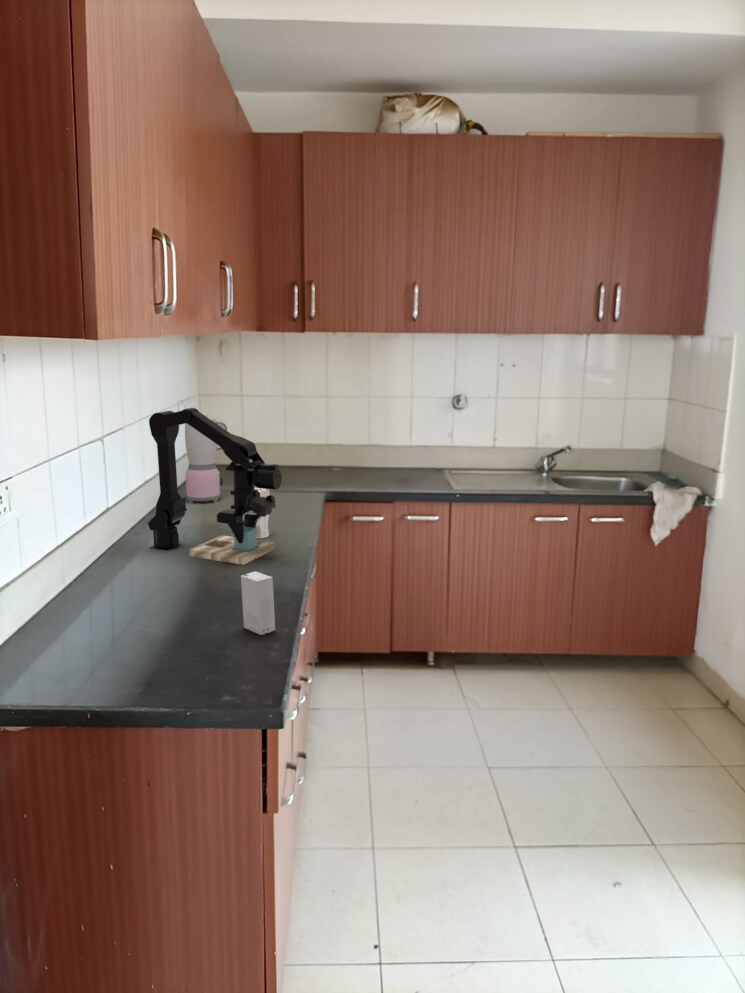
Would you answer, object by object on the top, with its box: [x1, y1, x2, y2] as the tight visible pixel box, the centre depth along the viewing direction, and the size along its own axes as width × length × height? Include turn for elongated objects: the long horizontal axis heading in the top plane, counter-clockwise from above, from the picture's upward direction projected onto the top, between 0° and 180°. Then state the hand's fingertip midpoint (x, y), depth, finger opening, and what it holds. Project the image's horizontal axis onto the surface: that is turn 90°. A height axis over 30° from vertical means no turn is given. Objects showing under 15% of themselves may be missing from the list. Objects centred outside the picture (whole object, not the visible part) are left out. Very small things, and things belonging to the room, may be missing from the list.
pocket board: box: [188, 534, 275, 566], centre depth 213 cm, size 18×16×2 cm
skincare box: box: [240, 570, 276, 636], centre depth 160 cm, size 6×4×12 cm
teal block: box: [233, 526, 258, 552], centre depth 211 cm, size 4×4×6 cm
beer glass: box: [254, 486, 271, 539], centre depth 230 cm, size 7×7×15 cm
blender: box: [184, 413, 228, 504], centre depth 276 cm, size 16×12×32 cm
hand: (245, 541), depth 211 cm, fingers closed on teal block, 4 cm apart
